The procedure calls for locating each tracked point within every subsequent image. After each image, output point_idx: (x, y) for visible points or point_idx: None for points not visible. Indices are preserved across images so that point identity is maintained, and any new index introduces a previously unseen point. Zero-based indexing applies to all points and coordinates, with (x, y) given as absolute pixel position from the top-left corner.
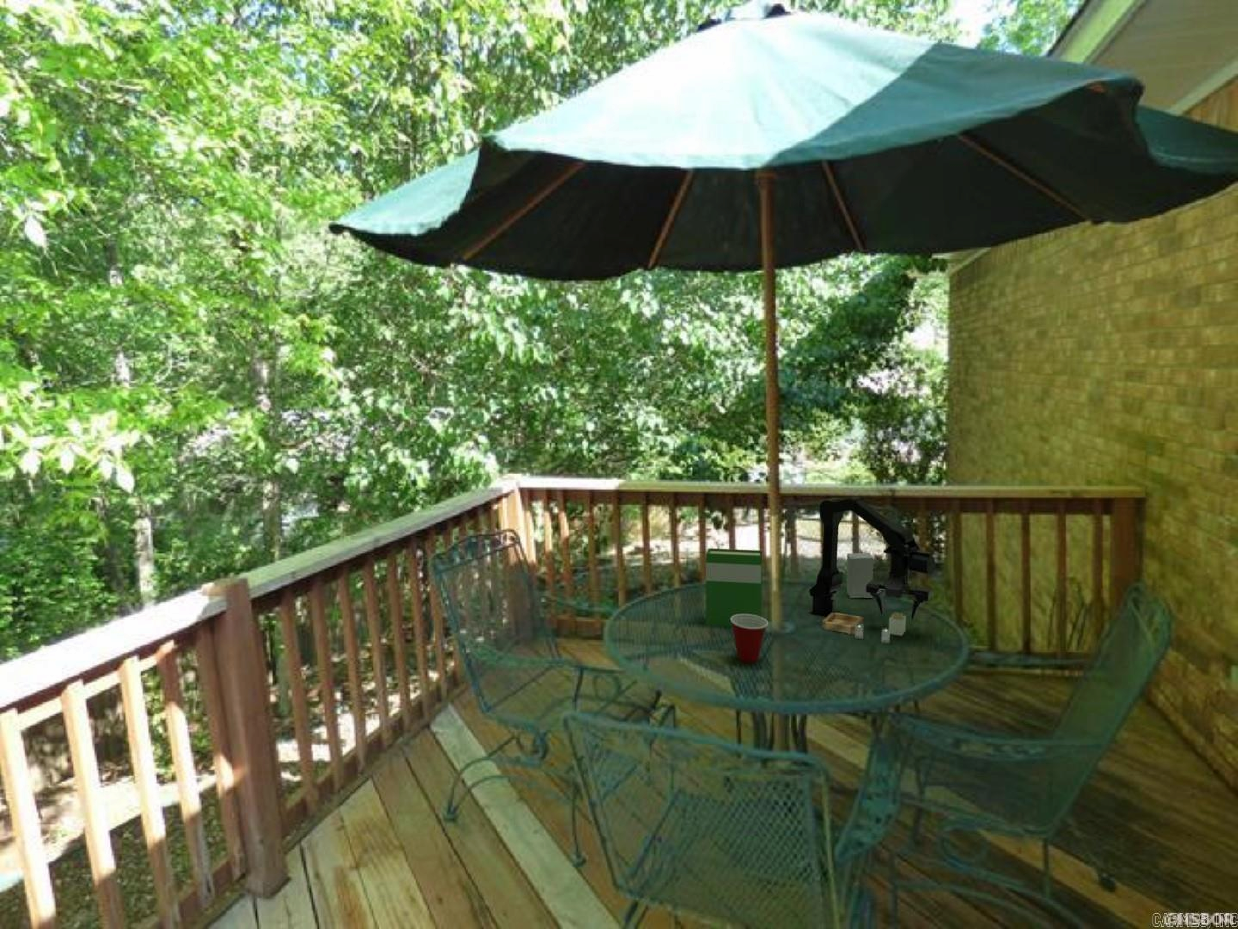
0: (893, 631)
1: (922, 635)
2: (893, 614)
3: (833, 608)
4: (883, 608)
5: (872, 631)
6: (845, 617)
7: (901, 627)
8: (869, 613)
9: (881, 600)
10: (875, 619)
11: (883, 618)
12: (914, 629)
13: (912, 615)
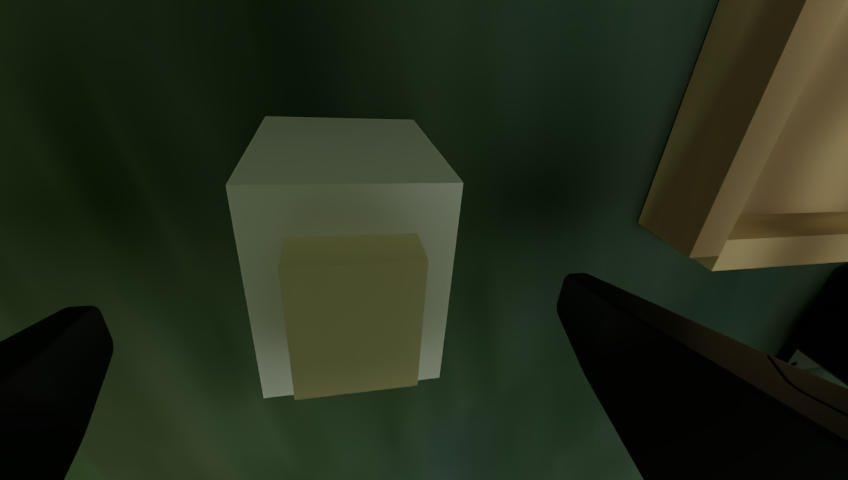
0: (365, 126)
1: (73, 240)
2: (419, 282)
3: (842, 345)
4: (598, 371)
5: (570, 101)
6: (811, 225)
7: (261, 146)
8: (578, 437)
9: (806, 477)
10: (544, 375)
11: (494, 415)
12: (225, 346)
13: (14, 350)
